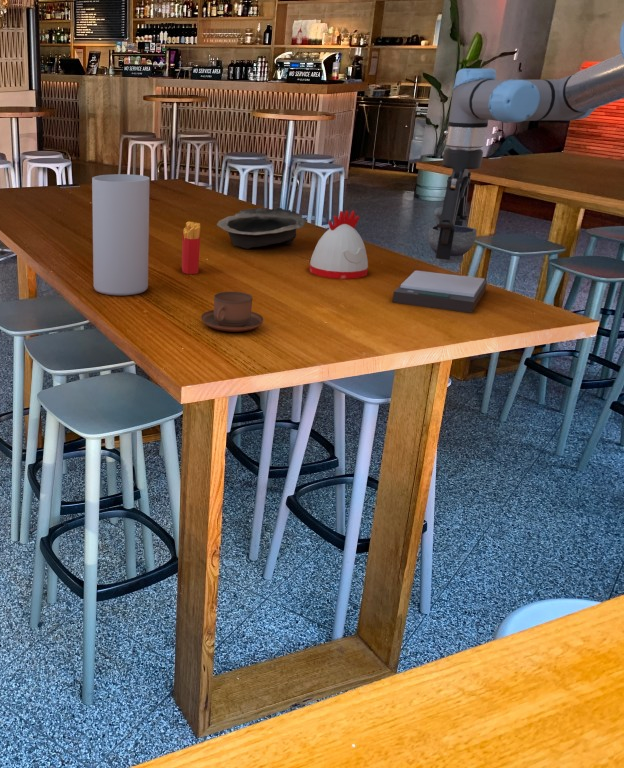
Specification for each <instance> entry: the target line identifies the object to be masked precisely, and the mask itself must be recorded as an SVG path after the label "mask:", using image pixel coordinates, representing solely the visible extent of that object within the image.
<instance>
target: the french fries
mask: <svg viewBox="0 0 624 768" xmlns="http://www.w3.org/2000/svg"><path fill="white" fill-rule="evenodd" d="M182 232H183V233H182V236H181V237H182V240H181V243H182V244H181V247H182V248H181V271H182V273H183V274H186V275H196V274H199V267H200V266H199V265H200V250H201V249H200V248H201V236H200V233H201V223H200V222H199V223H198V222H196V221H195V222H194V221H190V220H188V221H187V222H185V227H184V228H183V231H182Z"/></svg>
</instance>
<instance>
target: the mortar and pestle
mask: <svg viewBox="0 0 624 768" xmlns="http://www.w3.org/2000/svg"><path fill="white" fill-rule="evenodd" d="M442 210H443V206H439V207H436V208H435V209H434V210H433V215H434V216H435V219H436V224H435V225H429V229H428V243H429V244H428V245H429V246H430V249H431V250H432V251H433V252H434V255H433V260H432V261H434V262H438V263H443V264H462V263H463V262H464V255H465V254H466V253H468V252H469V251H470V250H471V249H472V247H473V246H474V245H475V242H476V237H477V233H478V232H477V228H474V227H470V226H466V225H465V226H464V225H462V226H457V225H454V228H453V229H455V230H454V236H453V243H452V249H451V255H450V260H446V259H437V258H436V254H437V247H438V241H439V234H440V228H437V224H439V223H440V220H441V215H442Z"/></svg>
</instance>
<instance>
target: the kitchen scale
mask: <svg viewBox="0 0 624 768" xmlns="http://www.w3.org/2000/svg"><path fill="white" fill-rule="evenodd" d="M487 284H488V280H485V278H483V277H476V276H467V275H457V274H448V273H441V272H433V271H425V270H414V271H413V272H412V273H411V274H410V275H409V276H408V277H407V278H406V279H405V280H404V281H403V282H402V283H401V284H400V285H399V286H398V287H397V288H395V289H394V291H393V296H392V303H395V304H402V305H410V306H415V307H416V306H417V307H424V308H431V309H432V308H433V309H437V310H447V311H453V312H461V313H466V314H467V313H469V314H472V313H473V312H474V310H475V308H476V307H477V305H478V304H479V302H480V300H481V299H482V297H483V295H484V294H485V293H486V290H487Z"/></svg>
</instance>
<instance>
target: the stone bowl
mask: <svg viewBox="0 0 624 768" xmlns="http://www.w3.org/2000/svg"><path fill="white" fill-rule="evenodd" d="M307 218H308V216H306V217H303V214H301V213H298V212H296V211H293V210H291V209H283V208H282V207H277V208H275V209H274V208H273V209H272V208H258V207H256V208H245V209H240V211H239V212H236V213H235V214H234V215H228V216H226V217H224V218H222V219H220V220H219V221H217V223H216V226H217V227H219V228H220V229H222V230H223V231H225V232H227V235H228V236H229V238H230V241H231V242H232V244H233V246H234V247H239V248H242V249H246V250H249V249H252V248H260V247H267V246H271V245H274V244H275V245H277V244H282V245H286V246H289V245H292V244H293V243H294V241H295V239H296V238H297V229H301V228H303V227H305V225H306V221H307Z"/></svg>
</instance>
